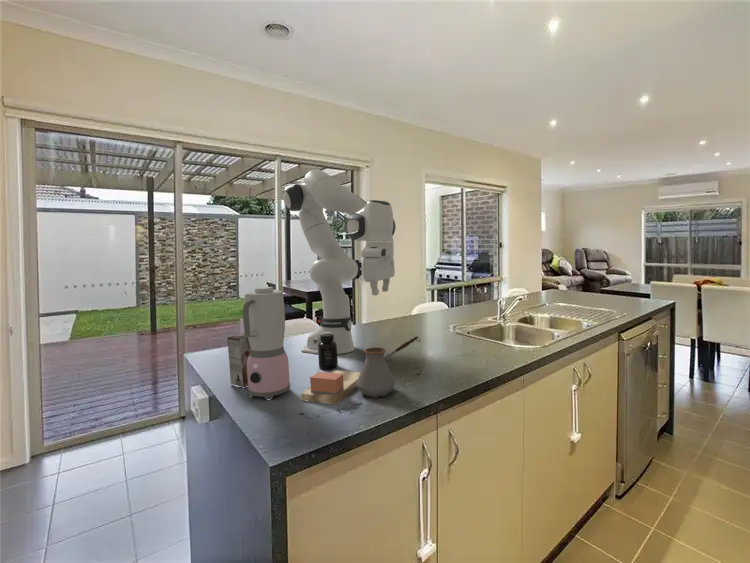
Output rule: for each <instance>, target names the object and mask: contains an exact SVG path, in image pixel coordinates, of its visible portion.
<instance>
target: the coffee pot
mask: <svg viewBox="0 0 750 563" xmlns="http://www.w3.org/2000/svg"><path fill="white" fill-rule="evenodd" d="M415 341H416V342H418V343H421V342H422V341H421V339H420V338H419V336H414V337H413V338H410V339H409V340H408V341H406V342H404V343H402V344H401V345H400V346H398V347H397V348H395V349H394V350H393V351H391V352H389V353H388V354H386V355H385V352H386V351H387V349H386V348H384V347H369V348H366V349H364V350H363V352H364V353H365V360H364V362H363V365H362V368H361V370H360V372H361V373H360V375H359V378H358V381H357V387H356V388H357V389H358V390H359V391H360V392H361V393H362V394H363V395H364V396H366V395H367V396H366V397H369V396H371V397H370V398H380V397H379V396H382V397H385V396H388V395H389V394H388V393H390V392H391V391H392V390H394V388H395V385H396V380H395V379H394V376H393V374H392V372H391V369H390V368H389V365H388V362H387V361H386V360H387V359H389V358H390V357H391V356H393V355H395V354H396V353H398V352H400V351H401V350H403V349H406V348H407V347H408V346H410V344H411V343H414V342H415ZM384 395H385V396H384Z"/></svg>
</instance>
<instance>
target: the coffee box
mask: <svg viewBox="0 0 750 563" xmlns="http://www.w3.org/2000/svg"><path fill="white" fill-rule="evenodd" d="M227 351H228V352H227V353H228V363H229V365H228V366H229V376H230V385H231V384H234V385H238V386H241V387H246V386H248V376H247V360H248V357H249V355H250V351H251V348H250V343H249V339H248V337H247V336H246V335H245V333H243V332H242V333H240V334H239V333H238V334H236V335H231V336H228V337H227Z"/></svg>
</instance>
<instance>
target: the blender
mask: <svg viewBox="0 0 750 563" xmlns="http://www.w3.org/2000/svg"><path fill="white" fill-rule="evenodd" d="M285 311H286V310H285V302H284V293H283V291H281V290H278V289H277V290H274V288H273V286H260V287H259V286H258V287H255V288H254V291H250V292H249V291H248V292H246V293H245V294H244V305H243V307H242V320H243V321H242V322H243V332H244V333H245V335H246V336H247V337H248V339H249V343H250V348H251V351H250V355H249V357H248V360H247V376H248V387H247V390H248V397H249V396H251V395H252V397H253V396H254V397H264V400H265V399H271V398H273V399H274V396H278V395H280V394H284V393H286V392H288V391H289V390H290V389H291V383H290V365H289V357H288V355H287V353H286V351H285V348H284V338H285V332H286V330H285V329H286V312H285Z"/></svg>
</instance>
